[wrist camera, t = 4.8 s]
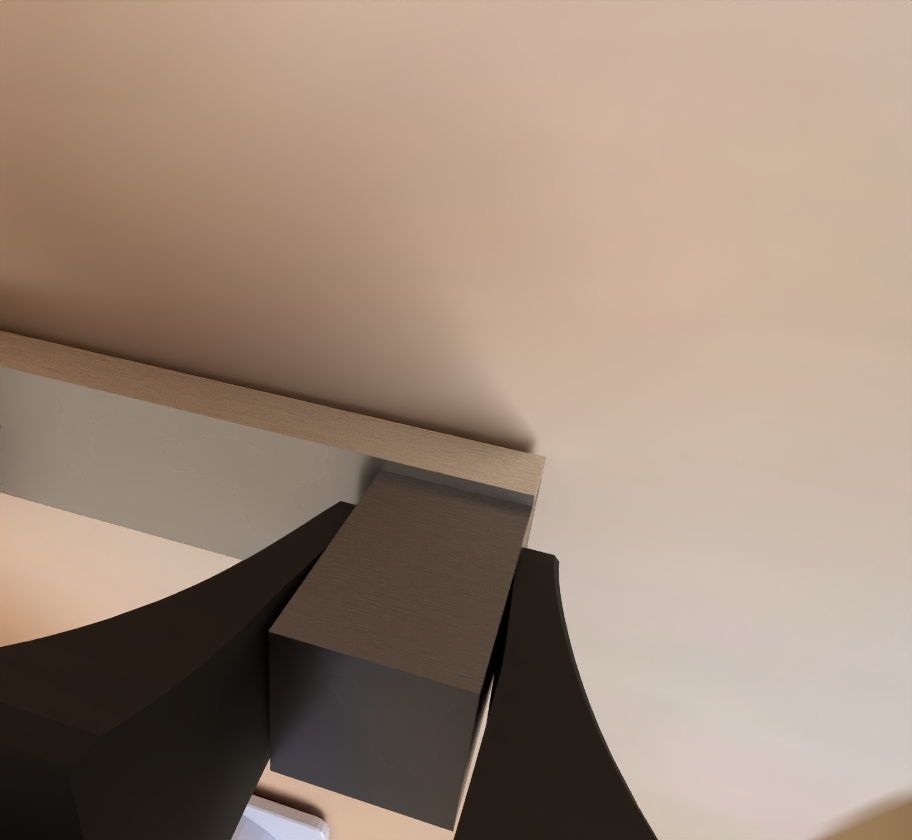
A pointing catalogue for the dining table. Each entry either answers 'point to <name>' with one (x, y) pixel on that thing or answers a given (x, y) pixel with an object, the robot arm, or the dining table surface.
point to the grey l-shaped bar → (338, 569)
